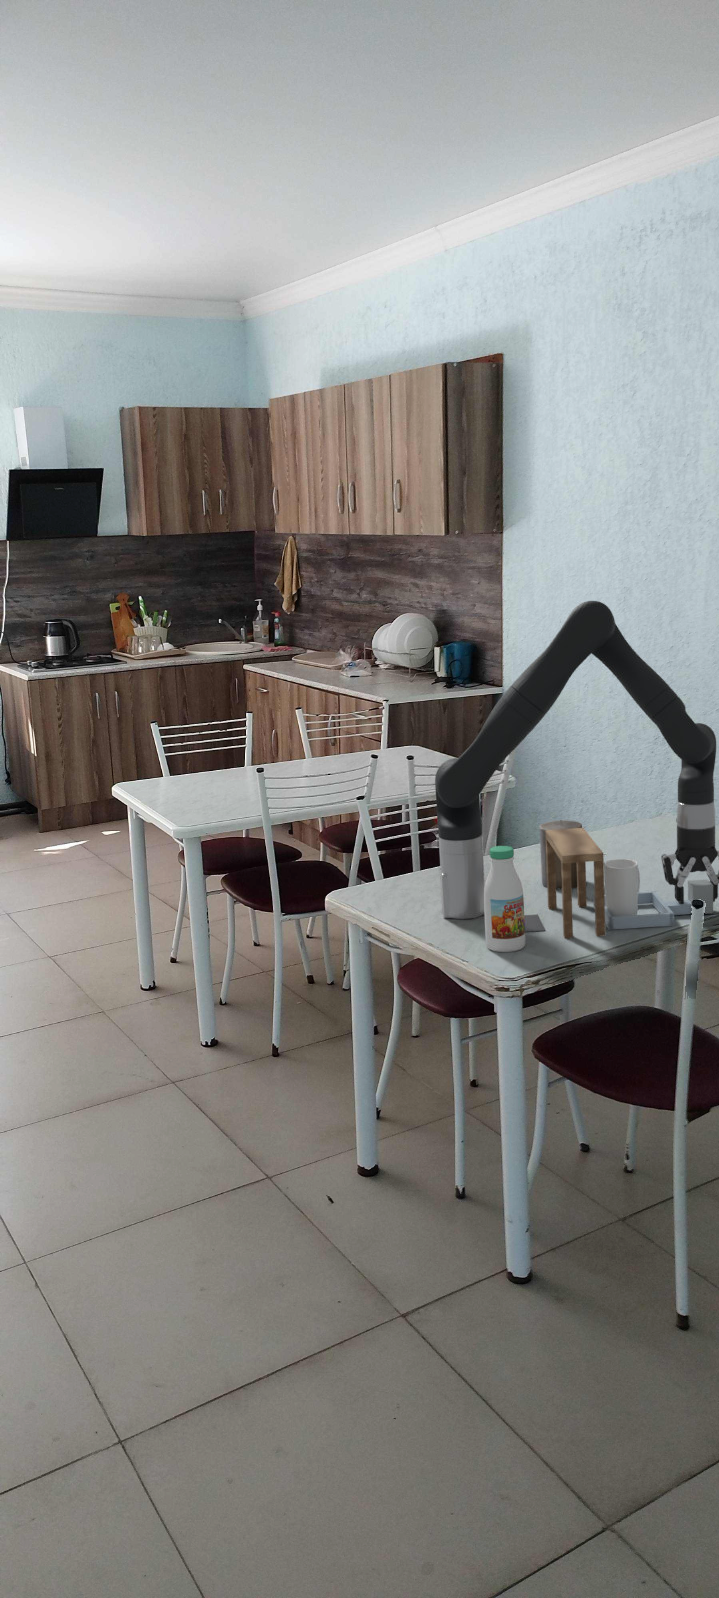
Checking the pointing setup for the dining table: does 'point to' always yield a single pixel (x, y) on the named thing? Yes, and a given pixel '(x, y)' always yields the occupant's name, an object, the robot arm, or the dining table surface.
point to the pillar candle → (555, 826)
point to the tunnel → (581, 850)
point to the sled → (663, 907)
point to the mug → (621, 886)
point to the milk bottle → (503, 903)
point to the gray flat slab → (533, 923)
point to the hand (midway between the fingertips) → (696, 901)
